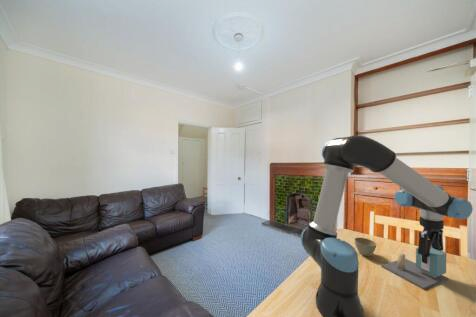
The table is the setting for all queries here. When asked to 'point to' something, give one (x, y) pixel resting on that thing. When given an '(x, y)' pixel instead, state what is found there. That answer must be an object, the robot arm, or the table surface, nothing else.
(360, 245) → the grey brown bowl
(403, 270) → the stand
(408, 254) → the table surface
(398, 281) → the table surface
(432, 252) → the pale blue block
